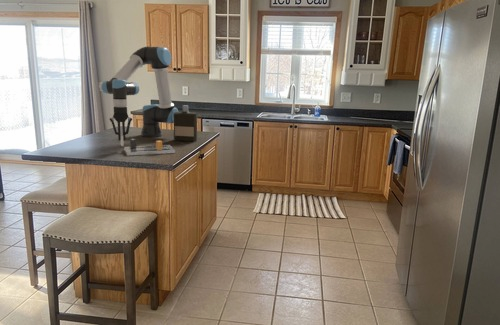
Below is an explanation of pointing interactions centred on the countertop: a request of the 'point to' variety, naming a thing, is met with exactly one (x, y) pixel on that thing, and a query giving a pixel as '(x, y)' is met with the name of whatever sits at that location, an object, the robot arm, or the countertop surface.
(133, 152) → the panel
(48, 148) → the countertop surface
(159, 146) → the orange fader
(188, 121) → the bottle
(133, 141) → the black fader
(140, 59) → the robot arm
